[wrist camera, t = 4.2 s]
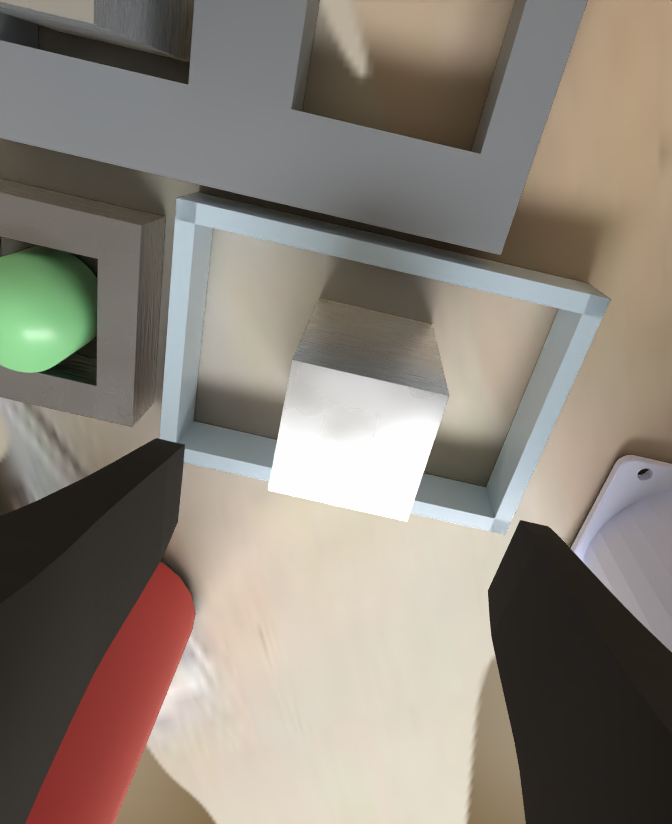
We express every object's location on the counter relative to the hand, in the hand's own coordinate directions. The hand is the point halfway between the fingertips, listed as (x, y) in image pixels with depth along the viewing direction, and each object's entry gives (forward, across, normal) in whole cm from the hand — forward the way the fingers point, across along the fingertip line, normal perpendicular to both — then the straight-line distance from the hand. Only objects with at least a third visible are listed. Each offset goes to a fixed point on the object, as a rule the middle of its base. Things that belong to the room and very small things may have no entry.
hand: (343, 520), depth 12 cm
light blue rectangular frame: (+9, 0, 0) cm, 9 cm away
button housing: (+9, +11, 0) cm, 14 cm away
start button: (+9, +11, 0) cm, 14 cm away
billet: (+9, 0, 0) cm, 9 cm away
